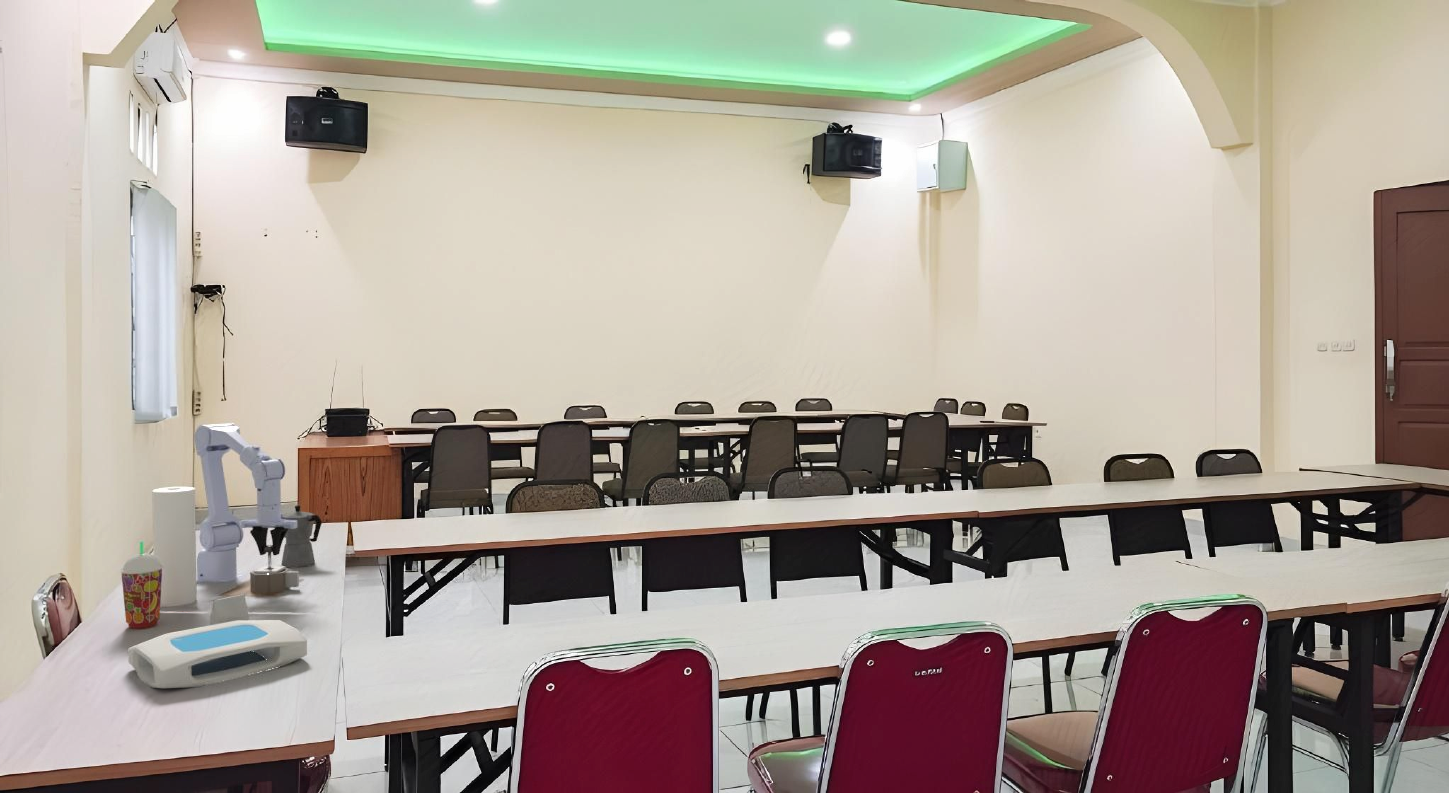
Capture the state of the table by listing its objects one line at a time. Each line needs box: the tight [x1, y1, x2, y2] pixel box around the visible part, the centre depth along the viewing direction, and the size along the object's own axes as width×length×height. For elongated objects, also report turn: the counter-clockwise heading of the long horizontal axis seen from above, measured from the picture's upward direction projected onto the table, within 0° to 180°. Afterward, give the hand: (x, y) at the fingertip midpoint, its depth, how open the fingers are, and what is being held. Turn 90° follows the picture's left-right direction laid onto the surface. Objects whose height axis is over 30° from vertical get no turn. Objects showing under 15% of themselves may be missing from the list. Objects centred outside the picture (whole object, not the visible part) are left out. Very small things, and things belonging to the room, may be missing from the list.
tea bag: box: [209, 594, 250, 626], centre depth 214 cm, size 4×7×10 cm, turn 143°
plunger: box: [256, 544, 283, 574], centre depth 257 cm, size 7×7×8 cm
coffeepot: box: [281, 504, 323, 568], centre depth 288 cm, size 15×9×18 cm, turn 70°
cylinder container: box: [151, 486, 198, 608], centre depth 243 cm, size 9×9×30 cm
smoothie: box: [120, 541, 163, 630], centre depth 225 cm, size 8×8×20 cm
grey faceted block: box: [249, 565, 300, 594], centre depth 257 cm, size 12×9×6 cm
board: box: [217, 578, 305, 597], centre depth 259 cm, size 15×18×1 cm
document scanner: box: [127, 619, 308, 689], centre depth 198 cm, size 21×28×6 cm
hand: (269, 554), depth 257 cm, fingers closed on plunger, 3 cm apart
